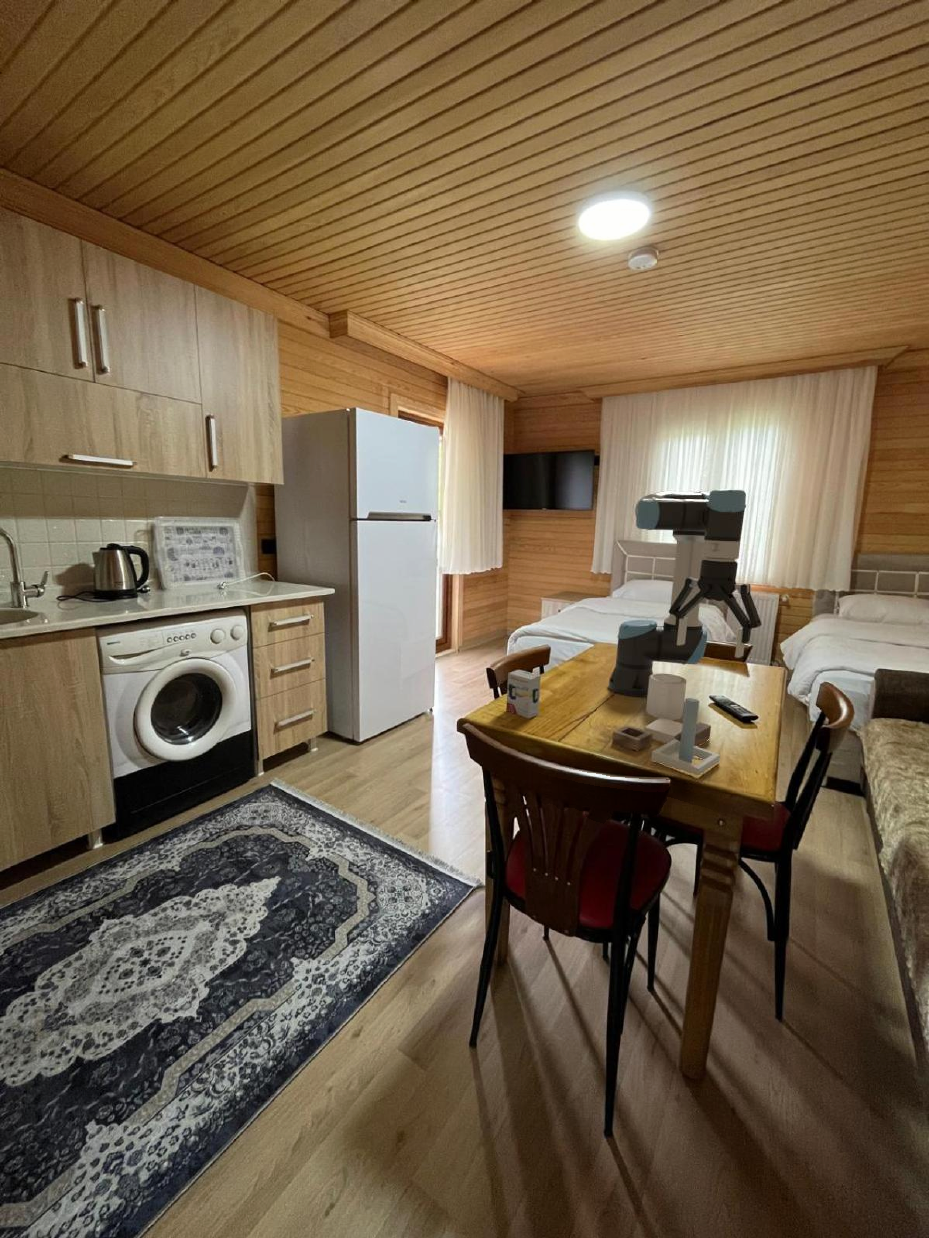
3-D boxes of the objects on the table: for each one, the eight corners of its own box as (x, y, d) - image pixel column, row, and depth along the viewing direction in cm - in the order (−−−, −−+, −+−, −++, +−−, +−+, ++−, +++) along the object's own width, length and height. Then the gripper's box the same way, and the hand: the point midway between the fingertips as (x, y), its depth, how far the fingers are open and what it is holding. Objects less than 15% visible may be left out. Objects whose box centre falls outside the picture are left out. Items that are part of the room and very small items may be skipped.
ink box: (505, 710, 157) (506, 672, 155) (515, 706, 161) (517, 668, 158) (529, 718, 151) (531, 679, 149) (539, 714, 155) (541, 675, 153)
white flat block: (643, 737, 142) (644, 727, 141) (659, 727, 149) (660, 717, 148) (673, 747, 136) (674, 736, 136) (688, 736, 144) (689, 725, 143)
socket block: (612, 742, 137) (613, 731, 137) (626, 735, 142) (627, 724, 141) (637, 751, 132) (638, 740, 131) (651, 744, 137) (652, 733, 136)
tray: (651, 761, 127) (652, 751, 127) (673, 748, 135) (674, 739, 134) (697, 779, 119) (698, 768, 119) (718, 764, 127) (720, 754, 126)
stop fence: (676, 748, 134) (678, 733, 134) (698, 736, 142) (699, 722, 142) (688, 752, 132) (690, 737, 131) (709, 739, 140) (711, 725, 139)
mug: (682, 726, 149) (686, 689, 147) (644, 720, 153) (647, 684, 151) (682, 710, 162) (686, 676, 160) (647, 704, 165) (650, 671, 163)
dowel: (676, 760, 127) (683, 699, 124) (682, 756, 129) (689, 697, 126) (688, 764, 125) (695, 703, 122) (694, 761, 127) (701, 700, 124)
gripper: (659, 555, 128) (651, 642, 132) (773, 565, 110) (759, 665, 114) (674, 554, 133) (666, 637, 137) (786, 563, 115) (772, 659, 119)
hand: (708, 650), depth 126 cm, fingers open, 13 cm apart
